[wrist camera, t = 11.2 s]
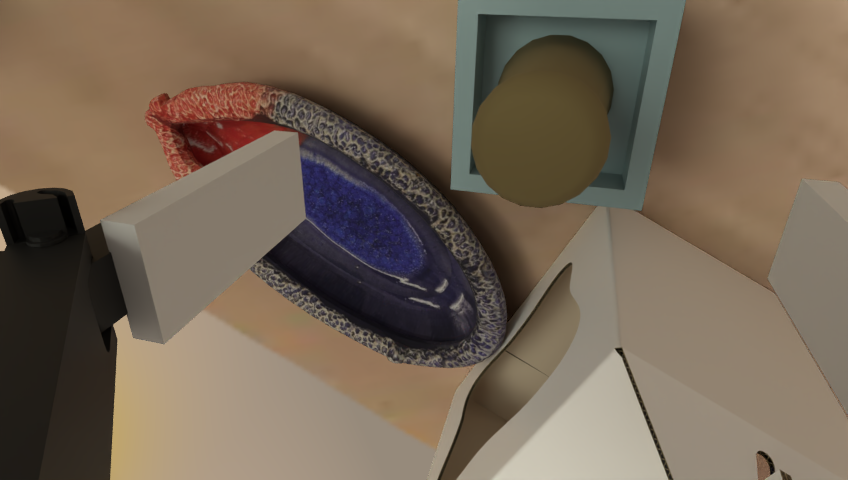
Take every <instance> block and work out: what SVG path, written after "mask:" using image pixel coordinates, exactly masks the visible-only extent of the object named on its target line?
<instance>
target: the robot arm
mask: <svg viewBox="0 0 848 480" xmlns="http://www.w3.org/2000/svg"><path fill="white" fill-rule="evenodd" d="M305 219H306V213H305V203H304V192H303V181H302V170H301V160H300V149H299V138H298V133H297V132H286V131H275V130H274V131H272V132H270V133H268V134H267V135H265V136H263V137H261V138H259V139H257V140H255V141H253V142H251V143H249V144H247V145H245V146H243V147H241V148H239V149H237V150H235V151H233V152H232V153H230V154H228V155H226V156H224V157H222V158H220V159H218V160H216V161H214V162H212V163H210V164H208V165H206V166H204V167H202V168H200V169H198V170H197V171H195V172H193V173H191V174H189V175H187V176H185V177H183V178H181V179H179V180H177V181H175V182H173V183H171V184H169V185H167V186H165V187H163V188H162V189H160V190H158V191H156V192H154V193H152V194H150V195H148V196H146V197H144V198H142V199H140V200H138V201H136V202H134V203H132V204H130V205H128V206H127V207H125V208H123V209H121V210H119V211H117V212H115V213H113V214H111V215H109V216H107V217H105V218H103V219H101V220H100V221H101V223H99V224H98V225H96V226H94V227H92V228H90V229H88V230H86V231H85V229H84V226H83V223H82V219H81V216H80V213H79V209H78V206H77V202H76V199H75V196H74V193H73V191H71V190H68V189H64V188H43V189H35V190H29V191H24V192H20V193H17V194H13V195H10V196H7V197H5V198H3V199H1V200H0V229H1V231H2V234H3V237H4V239H5V242H6V245H7V246H6V248H5V251H0V480H110V468H111V449H112V430H113V412H114V393H115V374H116V355H117V337H116V334H115V330H114V327H113V324H114V323H116V322H117V321H118V320H120V319H121V318H122V317H123V316H125V315H126V314H127V317H128V321H129V324H130V328H131V332H132V335H133V338H136V339H141V340H146V341H151V342H156V343H161V344H165V343H166V342H167V341H168V340H169V339H171V338H172V337H173V336H174V335H175V334H176V333H177V332H179V331H180V330H181V329H182V328H183V327H184V326H185V325H186V324H187V323H189V322H190V321H191V320H192V319H193V318H194V317H195V316H197V315H198V314H199V313H200V312H201V311H202V310H203V309H204V308H206V307H207V306H208V305H209V304H210V303H211V302H212V301H213V300H215V299H216V298H217V297H218V296H219V295H220V294H221V293H223V292H224V291H225V290H226V289H227V288H228V287H229V286H230V285H232V284H233V283H234V282H235V281H236V280H237V279H238V278H239V277H241V276H242V275H243V274H244V273H245V272H246V271H247V270H248V269H250V268H251V267H252V266H253V265H254V264H255V263H256V262H257V261H259V260H260V259H261V258H262V257H263V256H264V255H265V254H266V253H268V252H269V251H270V250H271V249H272V248H273V247H274V246H276V245H277V244H278V243H279V242H280V241H281V240H282V239H283V238H285V237H286V236H287V235H288V234H289V233H290V232H291V231H292V230H294V229H295V228H296V227H297V226H298V225H299V224H300V223H301V222H303V221H304V220H305ZM767 279H768V280H769V282H770V284H771V285H772V287H773V289H774V291H775V292H776V294H777V296H778V297H779V299H780V301H781V302H782V304H783V306H784V308H785V309H786V311H787V313H788V314H789V316H790V318H791V319H792V321H793V323H794V325H795V326H796V328H797V330H798V331H799V333H800V335H801V336H802V338H803V340H804V342H805V343H806V345H807V347H808V348H809V350H810V352H811V353H812V355H813V357H814V359H815V360H816V362H817V364H818V365H819V367H820V369H821V370H822V372H823V374H824V376H825V377H826V379H827V381H828V382H829V384H830V386H831V387H832V389H833V391H834V393H835V394H836V396H837V398H838V399H839V401H840V403H841V404H842V406H843V408H844V410H845V411H846V413H847V415H848V189H847V188H845V187H844V186H843V185H842V184H841V183H839V182H834V181H823V180H812V179H802V180H801V183H800V186H799V189H798V191H797V194H796V197H795V200H794V203H793V206H792V209H791V212H790V215H789V217H788V220H787V223H786V226H785V229H784V232H783V235H782V238H781V241H780V243H779V246H778V249H777V252H776V255H775V258H774V261H773V264H772V267H771V269H770V272H769V275H768V278H767Z"/></svg>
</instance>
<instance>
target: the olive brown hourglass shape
mask: <svg viewBox="0 0 848 480" xmlns="http://www.w3.org/2000/svg"><path fill="white" fill-rule="evenodd" d="M613 92H614V87H613V81H612V75H611V70H610V69H609V67H608V65H607V63H606V61H605V59H604V58H603V56H602V54H601V53H599V52H598V51H597V50H596V49H595V48H594V47H593V46H591V45H590V44H589V43H588V42H586V41H583V40H581V39H578V38H575V37H573V36H570V35H548V36H545V37H541V38H538V39H534V40H532V41H530V42H529V43H527V44H526V45H524V46H523V47H522V48H520V49H519V50H517V51H516V52H515V54H514V55H513V56H512V57H511V59H510V60H509V61H508V62H507V63H506V65H505V67H504V69H503V72H502V74H501V77H500V79H499V82H498V86H496V87H495V88H494V89H493V90H492V92H491V93H490V94H489V95H488V97H487V98H486V99H485V100H484V101H483V103H482V104H481V105H480V107H479V109H478V112H477V115H476V117H475V120H474V122H473V125H472V139H471V149H472V153H473V157H474V160H475V164H476V168H477V170H478V171H479V173H480V175H481V176H482V178H483V179H484V181H485V182H486V184H487V185H488V186H489V187H490V188H491V189H492V190H494V191H495V192H496V193H497V194H498V195H500V196H501V197H502V198H504V199H506V200H509V201H511V202H513V203H516V204H518V205H520V206H529V207H537V208H543V207H548V206H554V205H560V204H562V203H564V202H566V201H568V200H570V199H572V198H574V197H576V196H578V195H580V194H581V193H582V192H583V191H584V190H585V189H586V188H587V187H588V186H589V185H590V184H591V183H592V182H593V181H594V180H595V179H596V178H597V177H598V175H599V173H600V172H601V170H602V168H603V166H604V164H605V162H606V160H607V158H608V152H609V146H610V141H611V134H610V128H609V122H608V116H607V114H608V112H609V111H610V109H611V104H612V98H613Z"/></svg>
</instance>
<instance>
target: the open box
mask: <svg viewBox="0 0 848 480" xmlns="http://www.w3.org/2000/svg"><path fill="white" fill-rule="evenodd" d="M685 2H686V0H458V16H457V41H456V66H455V91H454V116H453V141H452V166H451V190H460V191H469V192H478V193H487V194H496V195H498V194H497V193H496V192H495V191H494V190H492V189H491V188H490V187H489V186H488V185H487V184H486V182H485V181H484V179H483V178H482V176H481V175H480V173H479V171H478V170H477V168H476V164H475V160H474V157H473V153H472V149H471V139H472V125H473V122H474V120H475V117H476V115H477V112H478V109H479V107H480V105H481V104H482V103H483V101H484V100H485V99H486V98H487V97H488V95H489V94H490V93H491V92H492V90H493V89H494V88H495V87H496V86H498V82H499V79H500V77H501V74H502V72H503V69H504V67H505V65H506V63H507V62H508V61H509V60H510V59H511V57H512V56H513V55H514V54H515V52H516V51H517V50H519V49H520V48H522V47H523V46H524V45H526V44H527V43H529V42H530V41H532V40H534V39H538V38H541V37H545V36H548V35H570V36H573V37H575V38H578V39H581V40H583V41H586V42H588V43H589V44H590V45H591V46H593V47H594V48H595V49H596V50H597V51H598V52H599V53H601V54H602V56H603V58H604V59H605V61H606V63H607V65H608V67H609V69H610V70H611V75H612V81H613V87H614V92H613V98H612V104H611V109H610V111H609V112H608V114H607V116H608V122H609V128H610V134H611V141H610V146H609V152H608V158H607V160H606V162H605V164H604V166H603V168H602V170H601V172H600V173H599V175H598V177H597V178H596V179H595V180H594V181H593V182H592V183H591V184H590V185H589V186H588V187H587V188H586V189H585V190H584V191H583V192H582V193H581V194H580V195H578V196H576V197H574V198H572V199H570V200H568V201H566V202H567V203H576V204H585V205H594V206H603V207H612V208H621V209H630V210H639V211H642V207H643V202H644V198H645V193H646V188H647V183H648V179H649V174H650V169H651V164H652V160H653V155H654V150H655V145H656V140H657V136H658V131H659V126H660V121H661V117H662V112H663V107H664V102H665V98H666V93H667V88H668V83H669V79H670V74H671V69H672V64H673V60H674V55H675V50H676V45H677V41H678V36H679V31H680V26H681V21H682V17H683V12H684V7H685Z"/></svg>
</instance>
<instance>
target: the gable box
mask: <svg viewBox="0 0 848 480" xmlns="http://www.w3.org/2000/svg"><path fill="white" fill-rule="evenodd" d="M756 453H759V454H761V455H762V456H763V457H764V458H765V459H766V460H767V462H768V464H769V467H770V476H769V477H768V478H766V479H765V480H848V418H847V416H846V414H845V413H844V411H843V409H842V408H841V406H840V404H839V402H838V401H837V399H836V397H835V396H834V394H833V392H832V390H831V389H830V387H829V385H828V384H827V382H826V380H825V378H824V377H823V375H822V373H821V372H820V370H819V368H818V366H817V365H816V363H815V361H814V360H813V358H812V356H811V354H810V353H809V351H808V349H807V348H806V346H805V344H804V342H803V341H802V339H801V337H800V336H799V334H798V332H797V330H796V329H795V327H794V325H793V323H792V322H791V320H790V318H789V317H788V315H787V313H786V311H785V310H784V308H783V306H782V305H781V303H780V301H779V299H778V298H777V296H776V294H775V293H773V292H772V291H770V290H768V289H766V288H765V287H763V286H761V285H760V284H758V283H756V282H755V281H753V280H751V279H750V278H748V277H746V276H745V275H743V274H741V273H739V272H738V271H736V270H734V269H733V268H731V267H729V266H728V265H726V264H724V263H723V262H721V261H719V260H717V259H716V258H714V257H712V256H711V255H709V254H707V253H706V252H704V251H702V250H701V249H699V248H697V247H695V246H694V245H692V244H690V243H689V242H687V241H685V240H684V239H682V238H680V237H679V236H677V235H675V234H674V233H672V232H670V231H668V230H667V229H665V228H663V227H662V226H660V225H658V224H657V223H655V222H653V221H652V220H650V219H648V218H646V217H645V216H643V215H641V214H640V213H638V212H636V211H635V210H630V209H621V208H612V207H603V206H597V207H596V208H595V209H594V211H593V212H592V213H591V215H590V216H589V217H588V218H587V220H586V221H585V222H584V224H583V225H582V226H581V228H580V229H579V230H578V232H577V233H576V234H575V235H574V237H573V238H572V239H571V241H570V242H569V243H568V245H567V246H566V247H565V248H564V250H563V251H562V252H561V254H560V255H559V256H558V258H557V259H556V260H555V262H554V263H553V264H552V265H551V267H550V268H549V269H548V271H547V272H546V273H545V275H544V276H543V277H542V278H541V280H540V281H539V282H538V284H537V285H536V286H535V288H534V289H533V290H532V292H531V293H530V294H529V295H528V297H527V298H526V299H525V301H524V302H523V303H522V305H521V306H520V307H519V309H518V310H517V311H516V312H515V314H514V315H513V316H512V318H511V319H510V320H509V322H508V323H507V324H506V332H505V335H504V338H503V340H502V343H501V345H500V347H499V348H498V349H497V350H496V351H495V353H494V354H493V355H491V356H490V357H488V358H487V359H485V360H484V361H482V362H479V363H476V365H475V366H474V367H473V369H472V370H471V371H470V372H469V374H468V375H467V376H466V378H465V379H464V380H463V382H462V383H461V384H460V386H459V387H458V388H457V389H456V391H455V394H454V398H453V401H452V404H451V407H450V410H449V413H448V416H447V419H446V422H445V425H444V428H443V431H442V435H441V438H440V441H439V444H438V447H437V450H436V453H435V456H434V459H433V462H432V465H431V468H430V472H429V475H428V478H427V480H758V473H757V459H756Z"/></svg>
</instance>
